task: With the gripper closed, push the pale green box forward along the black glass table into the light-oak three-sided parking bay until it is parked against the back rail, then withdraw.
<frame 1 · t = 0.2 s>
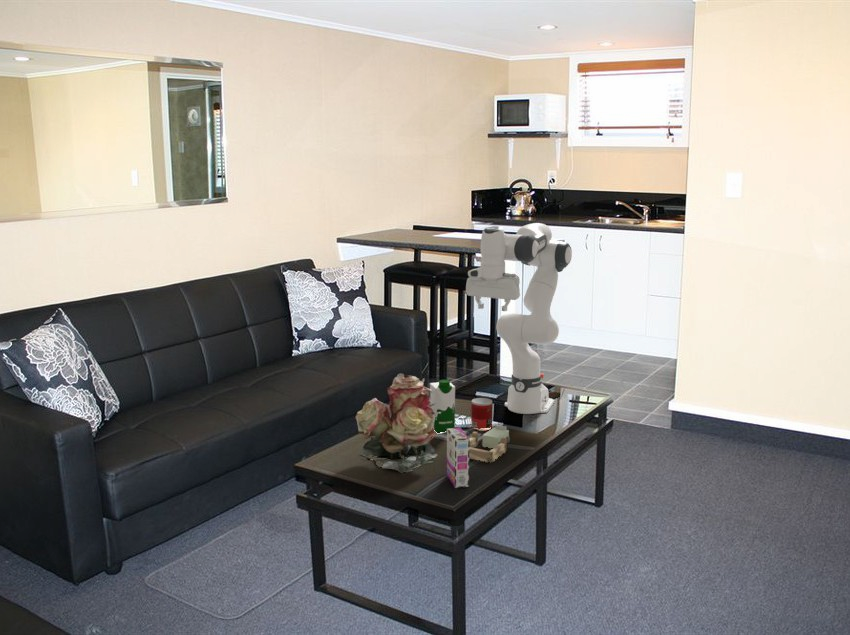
hand: (492, 309, 296), 47 cm above the table, tool pointing down, fingers open, 8 cm apart
bay: (482, 453, 286), on the table
rose bouquet: (402, 458, 283), on the table
milk carton: (442, 430, 309), on the table
candy bar box: (458, 481, 263), on the table
pale green box: (495, 444, 294), on the table
canned food: (481, 428, 310), on the table
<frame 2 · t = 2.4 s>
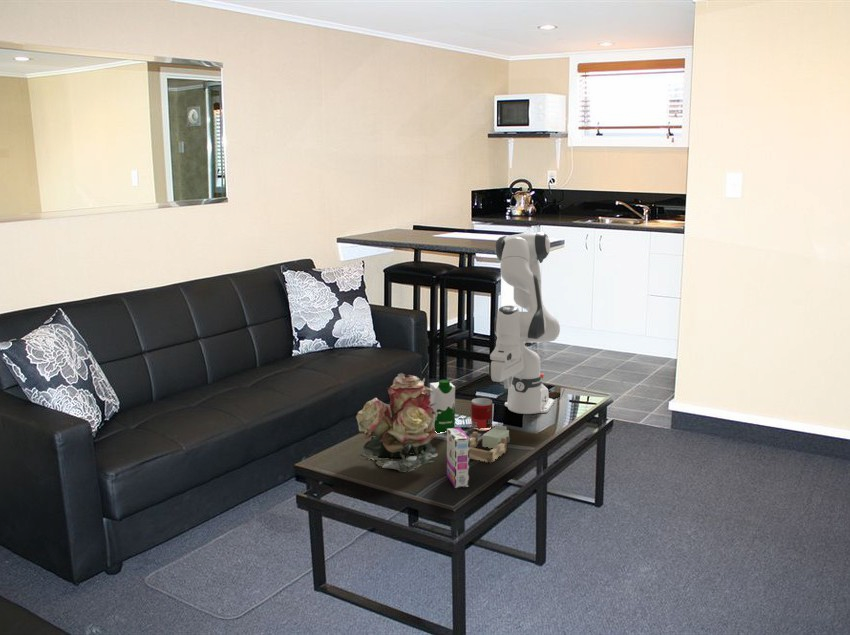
hand: (507, 387, 298), 19 cm above the table, tool pointing down, fingers closed
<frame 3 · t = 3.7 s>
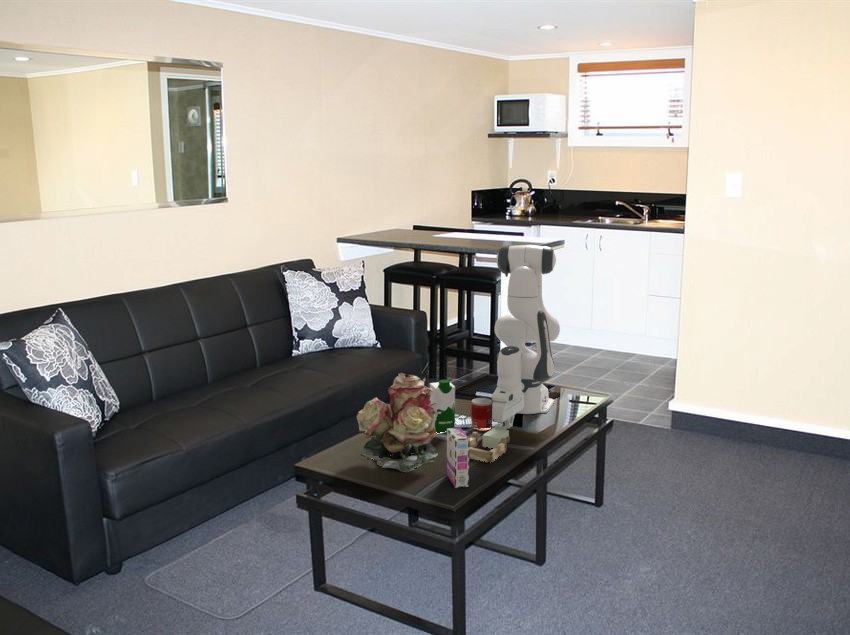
hand: (508, 427, 301), 4 cm above the table, tool pointing down, fingers closed
nothing on the table moved.
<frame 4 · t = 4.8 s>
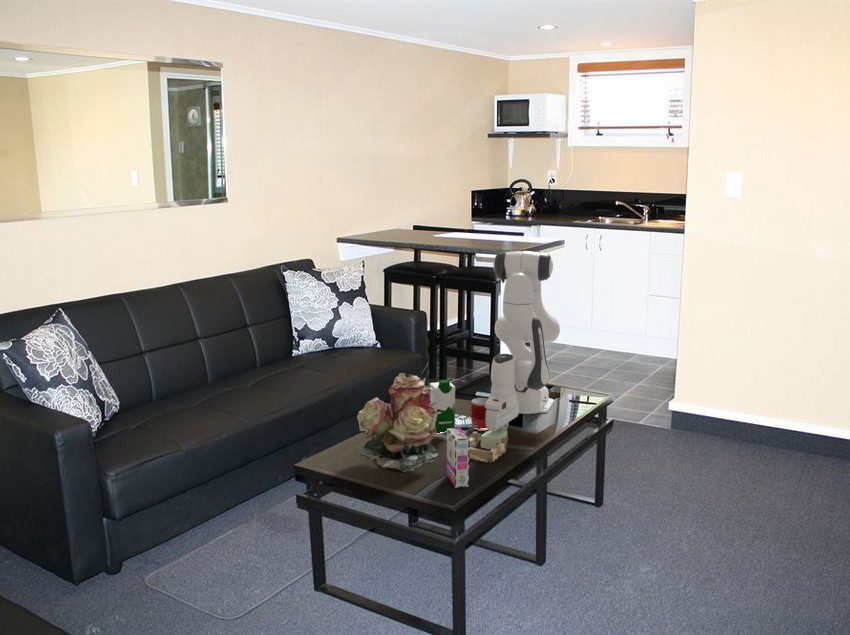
hand: (502, 434, 299), 2 cm above the table, tool pointing down, fingers closed
pale green box: (494, 445, 293), on the table, touching gripper
everything else where it was.
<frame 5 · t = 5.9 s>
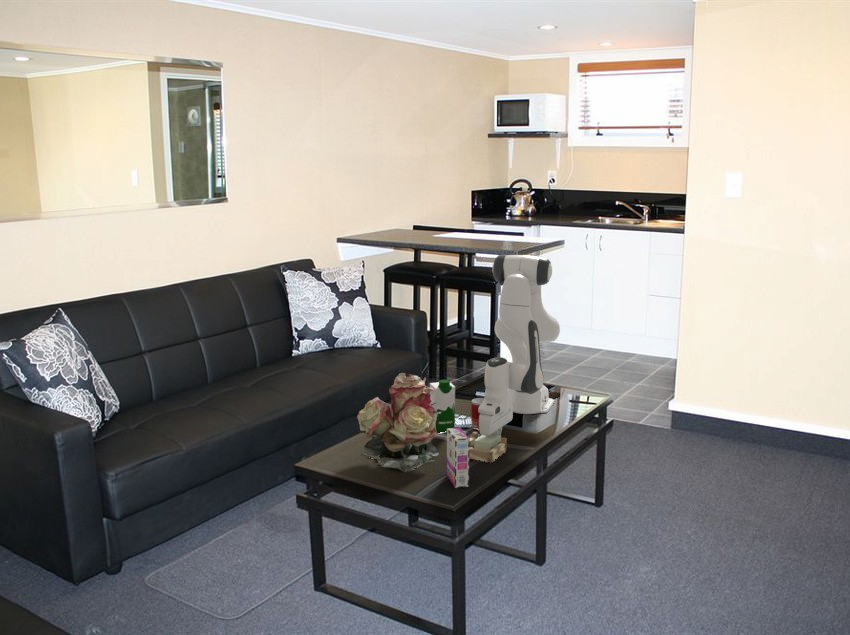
hand: (496, 439, 294), 2 cm above the table, tool pointing down, fingers closed
pale green box: (487, 450, 289), on the table, touching gripper
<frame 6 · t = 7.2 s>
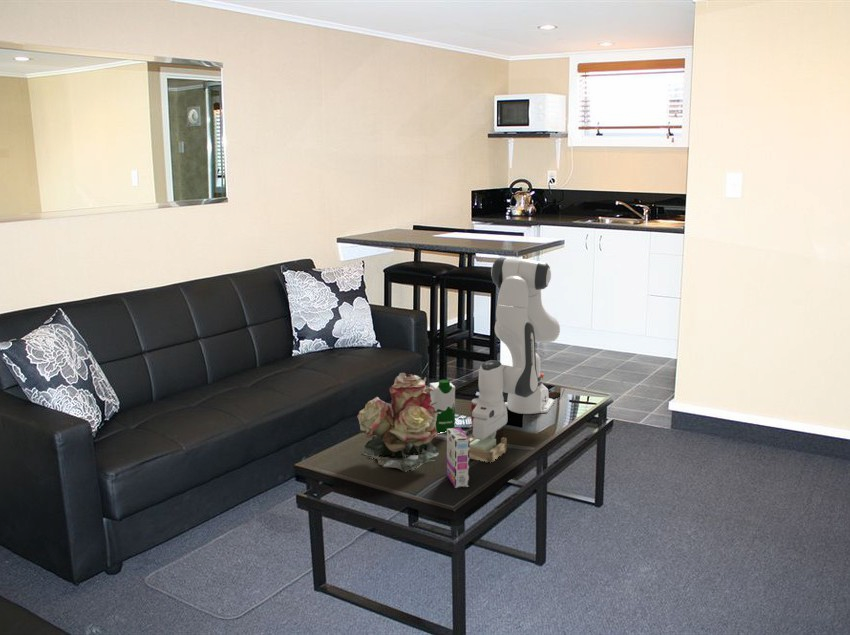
hand: (491, 443, 291), 2 cm above the table, tool pointing down, fingers closed
pale green box: (482, 453, 286), on the table, touching bay, gripper
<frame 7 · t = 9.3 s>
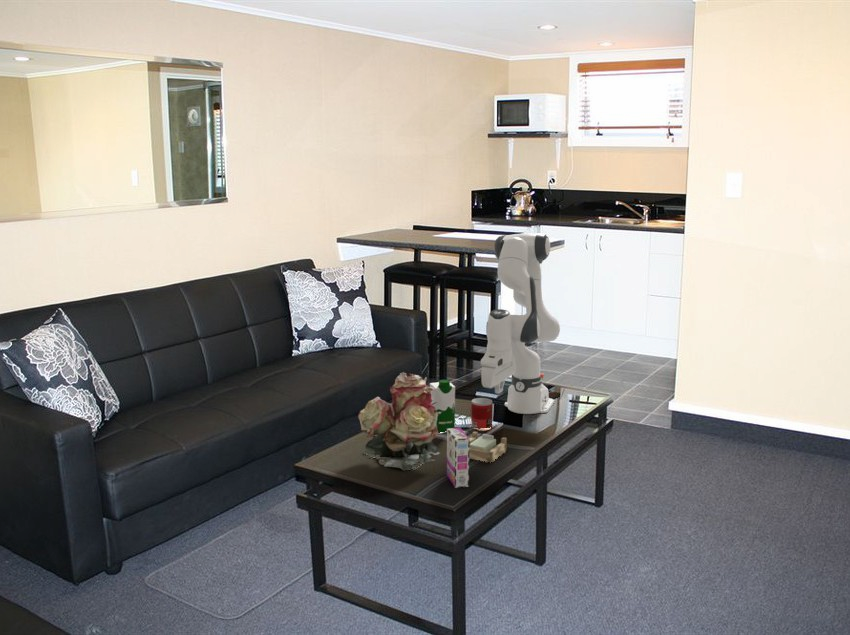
hand: (498, 392, 292), 19 cm above the table, tool pointing down, fingers closed
pale green box: (482, 454, 286), on the table
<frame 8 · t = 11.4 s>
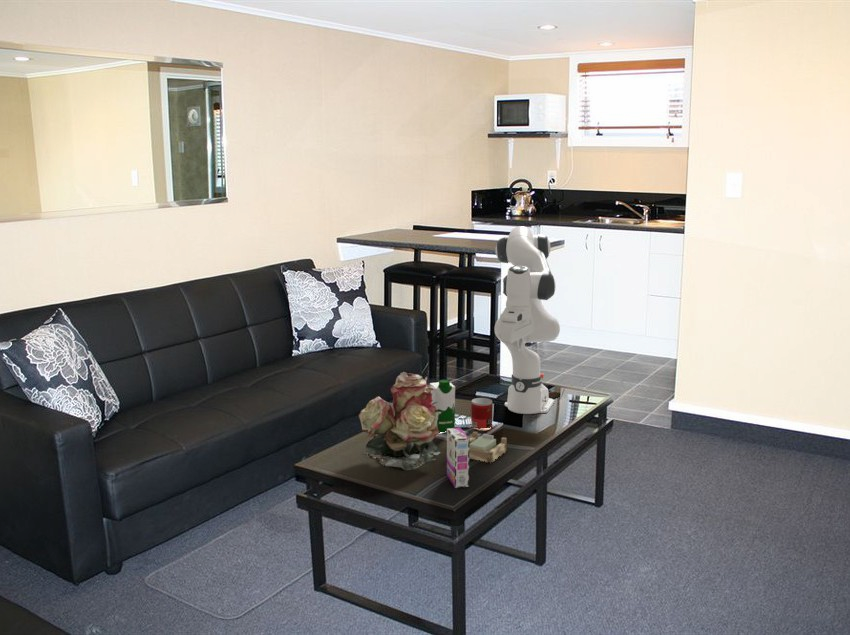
hand: (517, 350, 290), 34 cm above the table, tool pointing down, fingers closed
pale green box: (482, 454, 286), on the table, touching bay
at the end: pale green box 0.1 cm off-centre on the bay, point 0.0 cm above the bay's base; pale green box tilted 0° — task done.
